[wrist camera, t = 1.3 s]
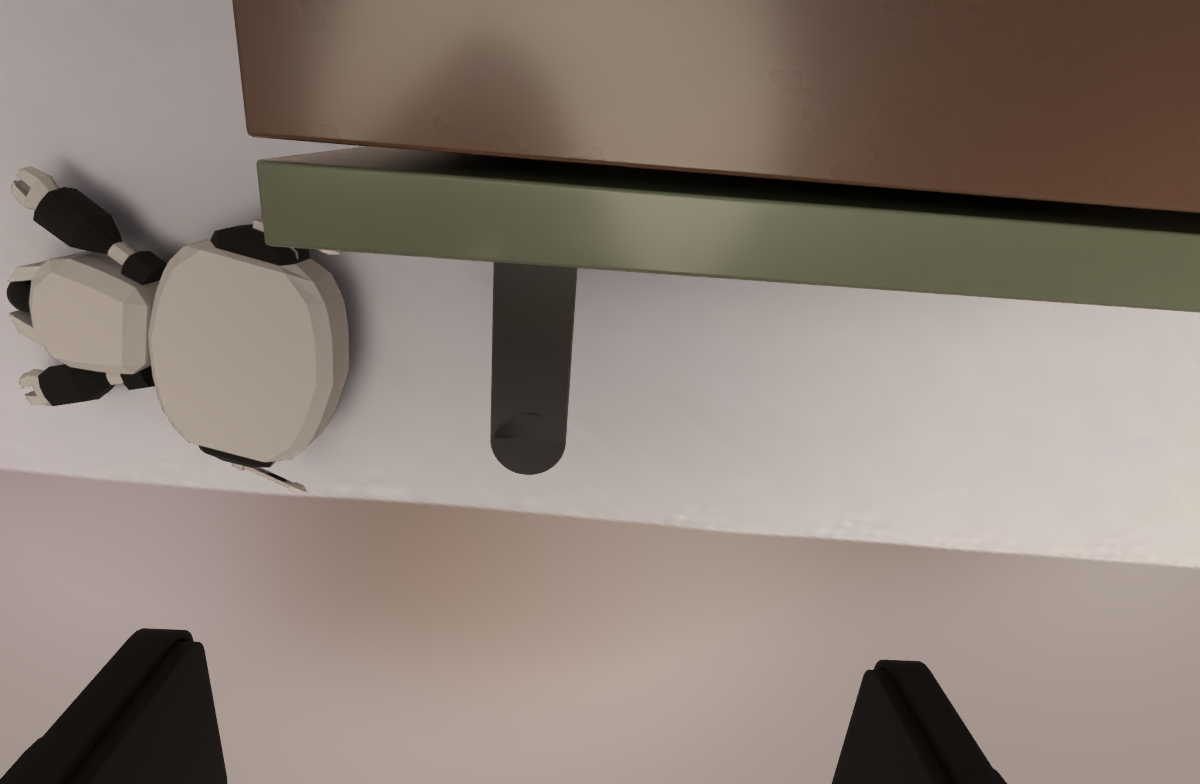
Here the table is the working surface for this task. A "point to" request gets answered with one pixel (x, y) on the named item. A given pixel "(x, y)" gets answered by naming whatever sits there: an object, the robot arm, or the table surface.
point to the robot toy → (185, 329)
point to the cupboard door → (700, 247)
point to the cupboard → (755, 88)
